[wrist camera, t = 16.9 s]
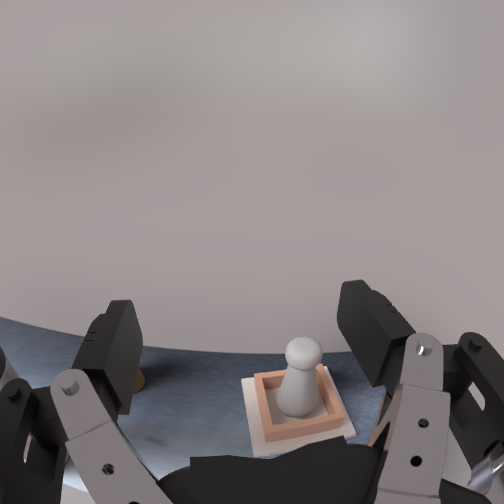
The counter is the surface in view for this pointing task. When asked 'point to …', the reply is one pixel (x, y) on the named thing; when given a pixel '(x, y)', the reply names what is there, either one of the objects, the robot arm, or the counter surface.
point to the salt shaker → (300, 378)
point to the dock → (286, 428)
